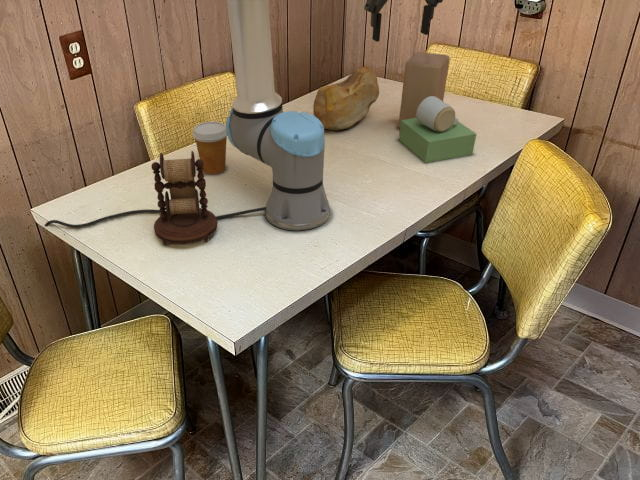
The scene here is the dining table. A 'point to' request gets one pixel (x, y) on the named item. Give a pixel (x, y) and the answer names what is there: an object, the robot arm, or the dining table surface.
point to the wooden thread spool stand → (182, 202)
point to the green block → (436, 140)
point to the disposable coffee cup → (211, 146)
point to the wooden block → (422, 81)
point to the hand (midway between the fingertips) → (400, 37)
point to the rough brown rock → (346, 100)
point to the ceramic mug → (436, 114)
